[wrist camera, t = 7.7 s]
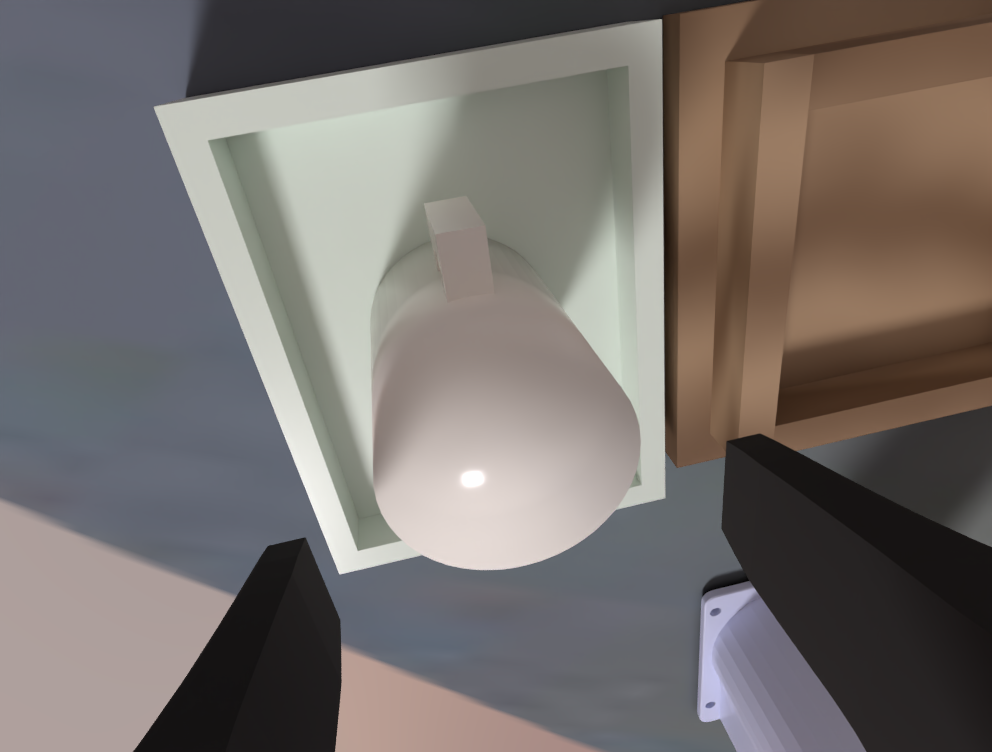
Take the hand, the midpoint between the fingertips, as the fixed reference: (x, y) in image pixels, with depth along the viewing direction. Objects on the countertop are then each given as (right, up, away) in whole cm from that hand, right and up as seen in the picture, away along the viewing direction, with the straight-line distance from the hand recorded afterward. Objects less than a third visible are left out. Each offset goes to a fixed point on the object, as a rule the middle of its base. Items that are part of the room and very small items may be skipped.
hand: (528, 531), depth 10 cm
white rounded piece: (-2, +4, +7) cm, 9 cm away
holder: (+12, +7, +9) cm, 16 cm away
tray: (-2, +4, +8) cm, 9 cm away
